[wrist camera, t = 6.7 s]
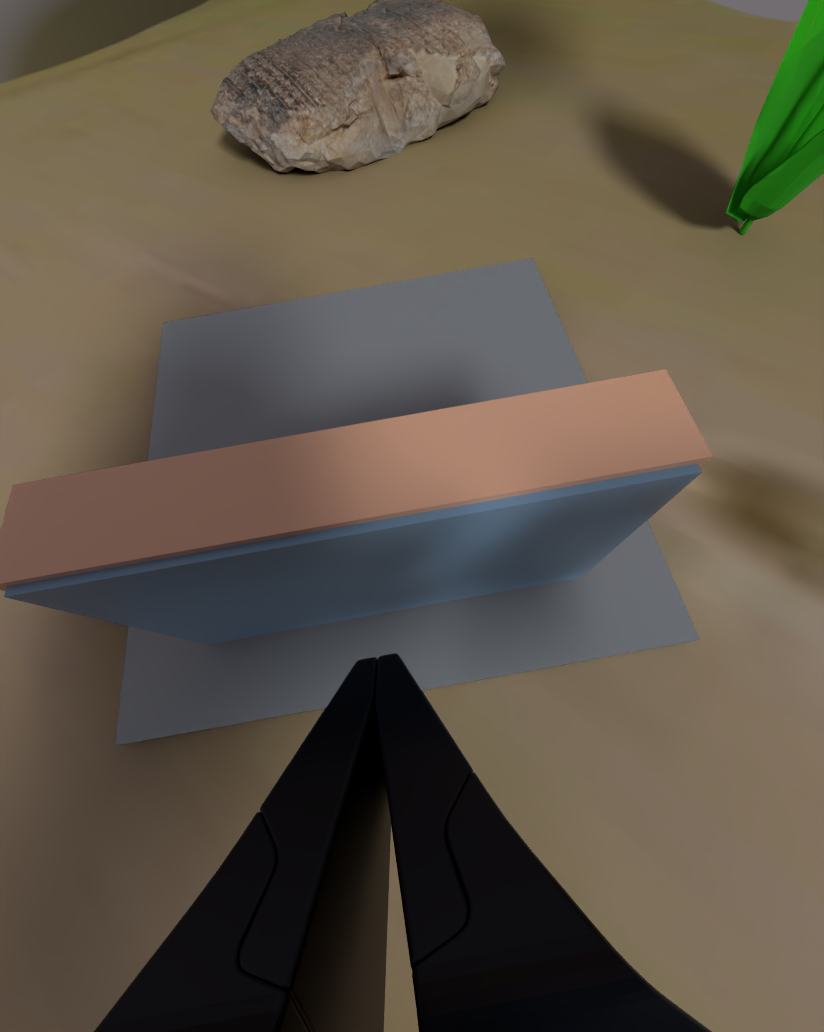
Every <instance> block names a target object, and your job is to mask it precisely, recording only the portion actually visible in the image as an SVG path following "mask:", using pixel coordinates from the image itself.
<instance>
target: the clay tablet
mask: <svg viewBox="0 0 824 1032" xmlns="http://www.w3.org/2000/svg"><path fill="white" fill-rule="evenodd" d="M504 67H505V60H504V58H503V56H502V54H501V53H500V52H499V50H498V49H497V48H496V47H495V46H493V45H492V42H491V39H490V36H489V33H488V31H487V29H486V27H485V25H484V23H483V21H482V19H481V18H480V16H479V15H478V14H475V13H472V12H468V11H465V10H461V9H459V8H456V7H454V6H452V5H450V4H448V3H445V2H442V0H376V1H374V2H373V3H372V4H370V5H369V7H368V8H367V9H365V10H363V11H360V12H357V13H356V14H354V15H353V16H352V17H348V16H347V14H346V13H345V12H344V13H342V14H334V15H332V16H330V17H328V18H327V19H324V20H320V21H317V22H316V23H314V24H313V25H311V26H309V27H307V28H304V29H300V30H299V31H298V32H296V33H295V34H294V35H290V36H289V37H287V38H286V39H279V40H278V41H277V42H276V43H275V44H273V45H272V46H269V47H267V48H266V49H264V50H262V51H260V52H255V53H253V54H251V55H250V56H248V57H246V58H244V59H243V60H242V61H241V62H240V63H239V64H238V65H237V66H236V67H235V68H234V69H233V70H232V71H231V73H230V75H229V77H226V78H225V79H224V80H223V82H222V84H221V86H220V89H219V91H218V94H217V97H216V99H215V102H214V104H213V106H212V108H211V113H212V115H213V117H214V118H215V120H216V121H217V122H218V123H219V124H221V125H222V126H223V127H224V128H225V129H227V130H228V131H229V133H230V134H231V135H232V136H233V137H234V138H235V139H236V140H237V141H239V142H240V143H242V144H244V145H246V146H248V147H250V148H251V150H252V151H254V152H255V153H257V154H258V155H259V156H261V157H262V158H263V159H264V160H265V161H266V162H267V163H269V164H270V165H271V166H272V168H273V169H274V170H276V171H279V172H289V171H291V170H293V169H294V168H295V167H297V168H301V169H303V170H306V171H316V172H318V173H321V172H325V171H329V170H340V171H342V170H345V169H347V170H352V169H356V168H359V167H362V166H364V165H367V164H370V163H373V162H376V161H378V160H380V159H384V158H388V157H390V156H393V155H396V154H399V153H400V152H402V150H403V149H404V148H405V147H406V146H408V145H409V144H411V143H416V142H418V141H421V140H424V139H426V138H428V137H430V136H432V135H433V134H434V133H435V132H436V130H437V129H438V128H440V127H442V126H444V125H447V124H449V123H451V122H453V121H455V120H457V119H458V118H460V117H461V116H463V115H465V114H466V113H468V112H469V111H471V110H472V109H474V108H477V107H479V106H481V105H483V104H484V103H486V102H488V101H489V100H491V98H492V96H493V94H494V93H495V91H496V90H497V89H498V86H499V83H498V80H497V77H498V75H499V73H500V72H501V71H502V69H503V68H504Z"/></svg>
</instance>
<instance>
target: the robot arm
mask: <svg viewBox="0 0 824 1032" xmlns="http://www.w3.org/2000/svg"><path fill="white" fill-rule="evenodd" d="M260 811H261V812H257V813H256V815H255V816H254V818H253V819H252V821H251V822H250V824H249V825H248V827H247V828H246V830H245V831H244V833H243V834H242V836H241V837H240V839H239V840H238V842H237V843H236V844H235V846H234V847H233V849H232V850H231V852H230V853H229V855H228V856H227V858H226V859H225V860H224V862H223V863H222V865H221V866H220V868H219V869H218V871H217V872H216V873H215V875H214V876H213V877H212V879H211V880H210V881H209V883H208V884H207V885H206V887H205V888H204V889H203V891H202V892H201V893H200V895H199V896H198V897H197V899H196V900H195V901H194V903H193V904H192V905H191V907H190V908H189V909H188V911H187V912H186V913H185V915H184V916H183V917H182V919H181V920H180V921H179V922H178V924H177V925H176V926H175V928H174V929H173V930H172V932H171V933H170V934H169V935H168V937H167V938H166V939H165V941H164V942H163V943H162V944H161V946H160V947H159V948H158V950H157V951H156V952H155V953H154V955H153V956H152V957H151V959H150V960H149V961H148V963H147V964H146V965H145V966H144V968H143V969H142V970H141V972H140V973H139V974H138V975H137V977H136V978H135V979H134V981H133V982H132V983H131V984H130V986H129V987H128V988H127V990H126V991H125V992H124V994H123V995H122V996H121V997H120V999H119V1000H118V1001H117V1003H116V1004H115V1005H114V1006H113V1008H112V1009H111V1010H110V1012H109V1013H108V1014H107V1016H106V1017H105V1018H104V1019H103V1021H102V1022H101V1023H100V1025H99V1026H98V1027H97V1028H96V1029H95V1031H94V1032H384V1004H385V976H386V948H387V920H388V892H389V864H390V836H391V826H392V833H393V841H394V848H395V855H396V862H397V869H398V877H399V884H400V891H401V898H402V905H403V913H404V920H405V927H406V934H407V941H408V949H409V956H410V963H411V968H412V971H413V972H412V977H413V985H414V992H415V1000H416V1008H417V1017H418V1026H419V1032H711V1031H710V1030H709V1029H707V1028H706V1027H705V1026H703V1025H702V1024H701V1023H699V1022H698V1021H697V1020H695V1019H694V1018H693V1017H691V1016H690V1015H689V1014H687V1013H686V1012H685V1011H683V1010H682V1009H681V1008H679V1007H678V1006H677V1005H675V1004H674V1003H673V1002H671V1001H670V1000H669V999H668V998H666V997H665V996H664V995H663V994H661V993H660V992H659V991H657V990H656V989H655V988H654V987H653V986H652V985H651V984H649V983H648V982H647V981H646V980H645V979H644V978H643V977H642V976H641V975H640V974H639V973H638V972H637V971H636V970H635V969H634V968H633V967H632V966H631V965H630V964H629V963H628V962H627V961H626V960H625V959H624V958H623V957H622V956H621V955H620V954H619V953H618V952H617V951H616V950H615V948H614V947H613V946H612V945H611V944H610V943H609V942H608V941H607V939H606V938H605V937H604V936H603V935H602V934H601V933H600V931H599V930H598V929H597V928H596V927H595V925H594V924H593V923H592V922H591V921H590V920H589V918H588V917H587V916H586V915H585V914H584V912H583V911H582V910H581V909H580V908H579V906H578V905H577V904H576V903H575V902H574V901H573V899H572V898H571V897H570V896H569V895H568V893H567V892H566V891H565V890H564V889H563V887H562V886H561V885H560V884H559V883H558V882H557V880H556V879H555V878H554V877H553V876H552V874H551V873H550V872H549V871H548V870H547V868H546V867H545V866H544V865H543V864H542V863H541V861H540V860H539V859H538V858H537V857H536V855H535V854H534V853H533V852H532V851H531V849H530V848H529V847H528V846H527V844H526V843H525V842H524V841H523V839H522V838H521V837H520V836H519V834H518V833H517V832H516V831H515V829H514V828H513V827H512V825H511V824H510V823H509V822H508V820H507V819H506V818H505V816H504V815H503V813H502V812H501V811H500V809H499V808H498V806H497V805H496V803H495V802H494V801H493V799H492V798H491V796H490V795H489V793H488V792H487V790H486V789H485V787H484V786H483V784H482V783H481V781H480V780H479V778H478V777H477V775H476V774H475V773H473V769H472V768H471V766H470V765H469V763H468V761H467V760H466V758H465V757H464V755H463V754H462V752H461V751H460V749H459V747H458V746H457V744H456V743H455V741H454V740H453V738H452V737H451V735H450V734H449V732H448V730H447V729H446V727H445V726H444V724H443V723H442V721H441V720H440V718H439V716H438V715H437V713H436V712H435V710H434V709H433V707H432V706H431V704H430V702H429V701H428V699H427V698H426V696H425V695H424V693H423V692H422V690H421V689H420V687H419V685H418V684H417V682H416V681H415V679H414V678H413V676H412V675H411V673H410V671H409V670H408V668H407V667H406V665H405V664H404V662H403V661H402V659H401V658H400V656H399V655H398V654H397V653H393V654H388V655H382V656H380V657H379V658H378V659H377V658H376V657H371V658H366V659H360V660H358V661H357V662H356V663H355V664H354V666H353V667H352V669H351V670H350V672H349V673H348V675H347V676H346V678H345V679H344V681H343V683H342V684H341V686H340V687H339V689H338V690H337V692H336V693H335V695H334V696H333V698H332V699H331V701H330V702H329V704H328V705H327V707H326V708H325V710H324V711H323V713H322V714H321V716H320V717H319V719H318V721H317V722H316V724H315V725H314V727H313V728H312V730H311V731H310V733H309V734H308V736H307V737H306V739H305V740H304V742H303V743H302V745H301V746H300V748H299V749H298V751H297V752H296V754H295V756H294V757H293V759H292V760H291V762H290V763H289V765H288V766H287V768H286V769H285V771H284V772H283V774H282V775H281V777H280V778H279V780H278V781H277V783H276V784H275V786H274V787H273V789H272V791H271V792H270V794H269V795H268V797H267V798H266V800H265V801H264V803H263V804H262V806H261V807H260Z"/></svg>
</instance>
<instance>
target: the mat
mask: <svg viewBox="0 0 824 1032" xmlns="http://www.w3.org/2000/svg"><path fill="white" fill-rule="evenodd" d="M586 383H587V381H586V378H585V376H584V374H583V371H582V369H581V367H580V365H579V362H578V360H577V358H576V355H575V353H574V351H573V349H572V346H571V344H570V342H569V339H568V337H567V335H566V333H565V330H564V328H563V326H562V323H561V321H560V319H559V316H558V314H557V312H556V310H555V307H554V305H553V303H552V300H551V298H550V296H549V294H548V291H547V289H546V287H545V284H544V282H543V280H542V278H541V275H540V273H539V271H538V268H537V266H536V264H535V262H534V259H533V258H531V259H525V260H519V261H514V262H508V263H502V264H496V265H491V266H485V267H479V268H474V269H468V270H462V271H456V272H451V273H445V274H439V275H434V276H428V277H422V278H416V279H411V280H405V281H399V282H394V283H388V284H382V285H376V286H371V287H365V288H359V289H353V290H348V291H342V292H336V293H331V294H325V295H319V296H313V297H308V298H302V299H296V300H291V301H285V302H279V303H273V304H268V305H262V306H256V307H251V308H245V309H239V310H233V311H228V312H222V313H216V314H211V315H205V316H199V317H193V318H188V319H182V320H176V321H170V322H165V323H163V330H162V338H161V347H160V356H159V364H158V373H157V382H156V390H155V399H154V408H153V417H152V425H151V434H150V443H149V451H148V460H147V461H151V460H156V459H162V458H168V457H173V456H179V455H185V454H190V453H196V452H202V451H207V450H213V449H219V448H224V447H230V446H236V445H241V444H247V443H253V442H258V441H264V440H269V439H275V438H281V437H286V436H292V435H298V434H303V433H309V432H315V431H320V430H326V429H332V428H337V427H343V426H349V425H354V424H360V423H366V422H371V421H377V420H383V419H388V418H394V417H399V416H405V415H411V414H416V413H422V412H428V411H433V410H439V409H445V408H450V407H456V406H462V405H467V404H473V403H479V402H484V401H490V400H496V399H501V398H507V397H513V396H518V395H524V394H529V393H535V392H541V391H546V390H552V389H558V388H563V387H569V386H575V385H580V384H586ZM696 640H700V639H699V637H698V635H697V632H696V630H695V628H694V626H693V623H692V621H691V619H690V616H689V614H688V612H687V609H686V607H685V605H684V603H683V600H682V598H681V596H680V593H679V591H678V589H677V587H676V584H675V582H674V580H673V577H672V575H671V573H670V571H669V568H668V566H667V564H666V561H665V559H664V557H663V555H662V552H661V550H660V548H659V545H658V543H657V541H656V539H655V536H654V534H653V532H652V529H651V527H650V525H649V523H648V520H647V521H646V522H644V523H643V524H642V525H641V526H640V527H639V528H638V529H636V530H635V531H634V532H633V533H632V534H631V535H630V536H628V537H627V538H626V539H625V540H624V541H623V542H622V543H620V544H619V545H618V546H617V547H616V548H615V549H614V550H612V551H611V552H610V553H609V554H608V555H607V556H606V557H604V558H603V559H602V560H601V561H600V562H599V563H598V564H596V565H595V566H594V567H593V568H592V569H591V570H590V571H588V572H587V573H586V574H585V575H584V576H583V577H582V578H577V579H571V580H566V581H560V582H555V583H549V584H544V585H538V586H533V587H527V588H521V589H516V590H510V591H505V592H499V593H494V594H488V595H483V596H477V597H471V598H466V599H460V600H455V601H449V602H444V603H438V604H432V605H427V606H421V607H416V608H410V609H405V610H399V611H394V612H388V613H382V614H377V615H371V616H366V617H360V618H355V619H349V620H344V621H338V622H332V623H327V624H321V625H316V626H310V627H305V628H299V629H293V630H288V631H282V632H277V633H271V634H266V635H260V636H255V637H249V638H243V639H238V640H232V641H227V642H221V643H216V644H210V645H207V644H203V643H198V642H194V641H190V640H186V639H181V638H177V637H173V636H169V635H164V634H160V633H156V632H151V631H147V630H143V629H139V628H134V627H130V626H128V634H127V643H126V652H125V660H124V669H123V678H122V686H121V695H120V704H119V712H118V721H117V730H116V739H115V745H122V744H129V743H134V742H140V741H145V740H151V739H156V738H162V737H167V736H173V735H178V734H184V733H189V732H195V731H200V730H206V729H211V728H217V727H222V726H228V725H233V724H239V723H244V722H250V721H256V720H261V719H267V718H272V717H278V716H283V715H289V714H294V713H300V712H305V711H311V710H316V709H322V708H326V707H327V705H328V704H329V702H330V701H331V699H332V698H333V696H334V695H335V693H336V692H337V690H338V689H339V687H340V686H341V684H342V683H343V681H344V679H345V678H346V676H347V675H348V673H349V672H350V670H351V669H352V667H353V666H354V664H355V663H356V662H357V661H358V660H360V659H366V658H371V657H376V658H377V659H378V658H379V657H380V656H382V655H388V654H393V653H397V654H398V655H399V656H400V658H401V659H402V661H403V662H404V664H405V665H406V667H407V668H408V670H409V671H410V673H411V675H412V676H413V678H414V679H415V681H416V682H417V684H418V685H419V687H420V689H421V690H427V689H432V688H438V687H443V686H449V685H454V684H460V683H465V682H471V681H476V680H482V679H487V678H493V677H498V676H504V675H509V674H515V673H520V672H526V671H532V670H537V669H543V668H548V667H554V666H559V665H565V664H570V663H576V662H581V661H587V660H592V659H598V658H603V657H609V656H614V655H620V654H625V653H631V652H636V651H642V650H647V649H653V648H659V647H664V646H670V645H675V644H681V643H686V642H691V641H696Z"/></svg>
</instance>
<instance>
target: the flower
mask: <svg viewBox="0 0 824 1032" xmlns="http://www.w3.org/2000/svg"><path fill="white" fill-rule="evenodd" d="M823 173H824V0H808V3H807V5H806V7H805V10H804V12H803V14H802V17H801V19H800V21H799V23H798V26H797V28H796V30H795V33H794V35H793V37H792V40H791V42H790V44H789V46H788V49H787V51H786V53H785V56H784V58H783V60H782V63H781V65H780V67H779V70H778V72H777V74H776V77H775V79H774V82H773V84H772V86H771V89H770V91H769V93H768V96H767V98H766V100H765V103H764V105H763V108H762V110H761V112H760V115H759V117H758V119H757V122H756V125H755V128H754V131H753V134H752V137H751V140H750V143H749V146H748V148H747V151H746V155H745V158H744V161H743V165H742V168H741V171H740V174H739V177H738V179H737V181H736V184H735V186H734V189H733V192H732V196H731V199H730V202H729V205H728V208H727V211H726V213H727V214H728V215H729V216H731V217H732V218H733V219H735V220H736V221H738V222H739V223H740V222H742V221H744V220H745V219H747V220H746V221H745V223H744V224H743V226H742V227H741V229H740V231H739V233H740V234H745V233H746V231H747V230H748V228H749V227H750V225H751V224H752V222H753V221H754V220H757V219H761V218H764V217H768V216H769V215H771V214H773V213H774V212H776V211H777V210H779V209H781V208H782V207H784V206H785V205H786V204H787V203H788V202H790V201H791V200H792V199H793V198H794V197H795V196H797V195H798V194H799V193H800V192H801V191H802V190H804V189H805V188H806V187H807V186H808V185H810V184H811V183H812V182H813V181H814V180H816V179H817V178H818V177H819V176H821V175H822V174H823Z"/></svg>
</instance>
